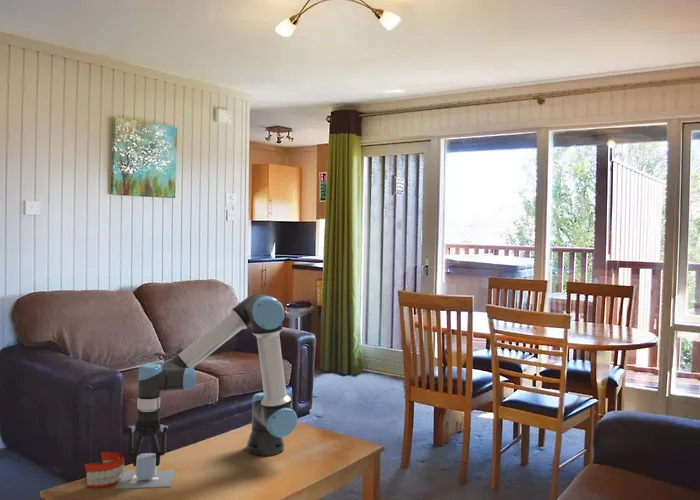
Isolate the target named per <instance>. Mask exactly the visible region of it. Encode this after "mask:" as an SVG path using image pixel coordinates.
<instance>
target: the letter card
mask: <svg viewBox="0 0 700 500" xmlns="http://www.w3.org/2000/svg"><path fill="white" fill-rule="evenodd" d="M175 473H176V469H170V470H166V469H165V470H157V471H156V475H155V476H153V478H152V479H137V477H136V470H135V471H134V470H133V471H132V470H131V471H123V472H122V473H121V476H122V477H121V479H120V480H119V481H118V482H117V483H116V485H115V487H114V489H115V490H124V489H126V490H127V489H129V490H130V489H155V488H156V489H157V488H159V489H160V488H171V486H172V483H173V479H174V477H175Z"/></svg>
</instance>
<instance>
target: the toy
mask: <svg viewBox="0 0 700 500" xmlns="http://www.w3.org/2000/svg"><path fill="white" fill-rule="evenodd" d="M100 454H101V461H102V462H93V463H91V462H89V463H85V464H84V466H85V472H86V483H87V484H86V486H85V487H93V488H92V489H95V488H98V489H99V488H106V487H109V486H113V485H115V484H117V483H118V482H119V480H120V479H121V477H122V474H123V472H125V471H124V470H125V458H124V456H123V454H122V453H120V452H113V451H101V452H100Z"/></svg>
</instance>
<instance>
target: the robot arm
mask: <svg viewBox="0 0 700 500" xmlns="http://www.w3.org/2000/svg"><path fill="white" fill-rule="evenodd" d="M284 319H285V307H284V306H283V304H282V303H281V302H280V301H279V300H278V299H277V298H275V297H273V296H270V295H266V294H262V293H253V294H251V295H249V296H247V297H245V299H243V300H242V301H240V302H239V303H238V304H237V305H236V306H234V307H233V308H232V309H231V310H230V314H228V315H227V316H225V317H224V318H223V319H222V320H221V321H219V322H218V323H217V324H215V326H213V327H211V329H209V330H208V331H207V332H205V333H204V334H203V335H201V336H200V337H199V338H198V339H196V340H195V341H194V342H192V343H191V344H189V346H187V347H186V348H184V349H183V350H182V351H181V352H180V353H178V354H177V355H176V356H174V357H173V358H172V359H167V360H165V361H163V363H162V364H160V363H151V362H150V363H145V364H142V365H140V366H139V369H138V377H137V381H138V382H137V406H136V407H137V410H136V423H135V424H134V425H129V426H128V427H127V430H126V431H127V432H128V443H127V446H128V447H127V456H128V457H132V462H133V463H132V466H133V467H136V468H135V471H136V477H137V475H138V458H139V456H140V454H139V452H140V449H141V445H142V442H143V439H144V437H146V436H148V437H150V438H151V441H152V445H153V446H152V447H153V450H154V453H155V456H154V463H153V476H155V475H156V471H158V470H157V469H158V466H160V463H161V457H162V456H165V454H166V451H167V450H166V449H167V432H168V431H167V430H168V429H169V426H168V424H167V425H165V424H164V425H163V424H161V420H160V417H161V415H160V414H161V410H160V407H161V393H162V392H167V391H169V392H170V391H186V390H192V389H194V388H195V387H196V385H197V372H196V370H195V366H197V365H198V364H200V363H201V362H202V361H203V360H205V359H206V358H207V357H208V356H210V355H211V354H212V353H214V352H215V351H216V350H218V349H219V348H220V347H221V346H222V345H223V344H226V342H227V341H229V340H230V339H231V338H232V337H234V336H235V335H237V334H238V333H240V331H242V330H246V329H248V328H249V327H251V333H252V335H253V336H255V338H256V342H257V349H258V350H257V351H258V358H259V364H260V374H261V379H262V380H261V382H262V388H263V389H262V390H263V392H258V393H255V394H254V395H253V396H252V401H251V403H252V408H251V409H252V411H251V432H250V434H249V437H248V439H247V443H246V451H247V452H248V453H249V454H252V455H255V456H264V457H265V456H274V454H275V455H278V454H277V453H279V452H281V451H282V452H284V451H285V442H284V438H285V437H288V436H289V435H290V434H292V433H293V432H294V431H295V429H296V427H297V425H298V416H297V413H296V412H295V410H294V409H293V403H292V397H291V396H290V395H289V394H287V386H286V380H285V379H286V377H285V371H284V364H283V363H284V362H283V355H282V345H281V338H280V334H281V332H282V330H283V321H284ZM159 429H160V432H161V445H159V440H158V437H157V431H159ZM136 430H137V433H139V435H138V440H137V442H136V446H135V449H134V436H135V431H136ZM160 446H161V449H160ZM282 452H281V453H282ZM279 454H280V453H279Z"/></svg>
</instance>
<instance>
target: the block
mask: <svg viewBox="0 0 700 500" xmlns="http://www.w3.org/2000/svg"><path fill="white" fill-rule="evenodd" d="M139 455H140V456H139V458H138V475H137V479H152V478H153V463H154V456H155V455H156V454H155V452H154V453H152V452H151V453H149V452H148V453H146V452H145V453H140V454H139Z"/></svg>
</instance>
